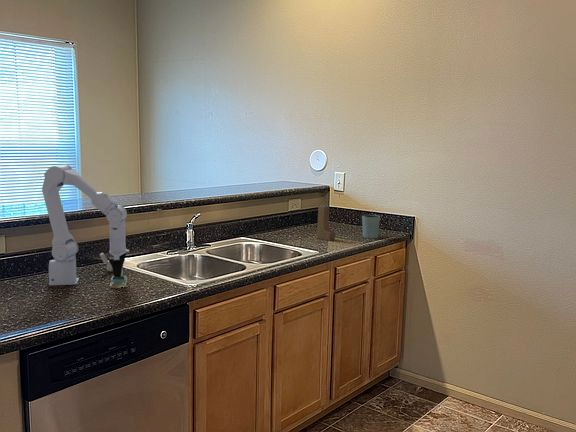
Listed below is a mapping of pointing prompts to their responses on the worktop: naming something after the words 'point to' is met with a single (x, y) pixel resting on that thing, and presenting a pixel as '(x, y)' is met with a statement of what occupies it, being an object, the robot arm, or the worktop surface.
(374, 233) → the drinking glass
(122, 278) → the pin
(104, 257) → the grey lever block
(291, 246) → the worktop surface
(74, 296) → the worktop surface
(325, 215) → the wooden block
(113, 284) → the pin board
